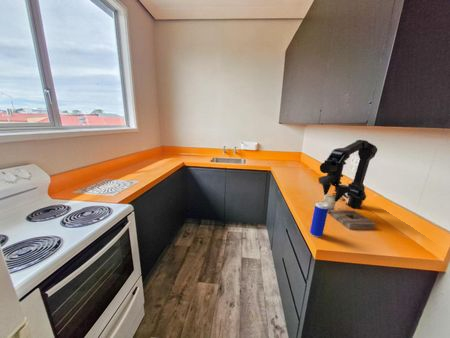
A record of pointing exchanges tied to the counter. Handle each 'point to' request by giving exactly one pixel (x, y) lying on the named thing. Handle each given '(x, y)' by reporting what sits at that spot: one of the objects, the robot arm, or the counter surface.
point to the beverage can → (319, 219)
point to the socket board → (352, 220)
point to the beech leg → (329, 202)
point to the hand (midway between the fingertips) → (330, 198)
